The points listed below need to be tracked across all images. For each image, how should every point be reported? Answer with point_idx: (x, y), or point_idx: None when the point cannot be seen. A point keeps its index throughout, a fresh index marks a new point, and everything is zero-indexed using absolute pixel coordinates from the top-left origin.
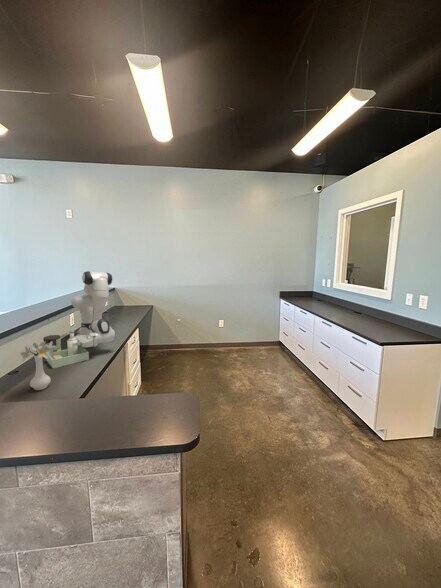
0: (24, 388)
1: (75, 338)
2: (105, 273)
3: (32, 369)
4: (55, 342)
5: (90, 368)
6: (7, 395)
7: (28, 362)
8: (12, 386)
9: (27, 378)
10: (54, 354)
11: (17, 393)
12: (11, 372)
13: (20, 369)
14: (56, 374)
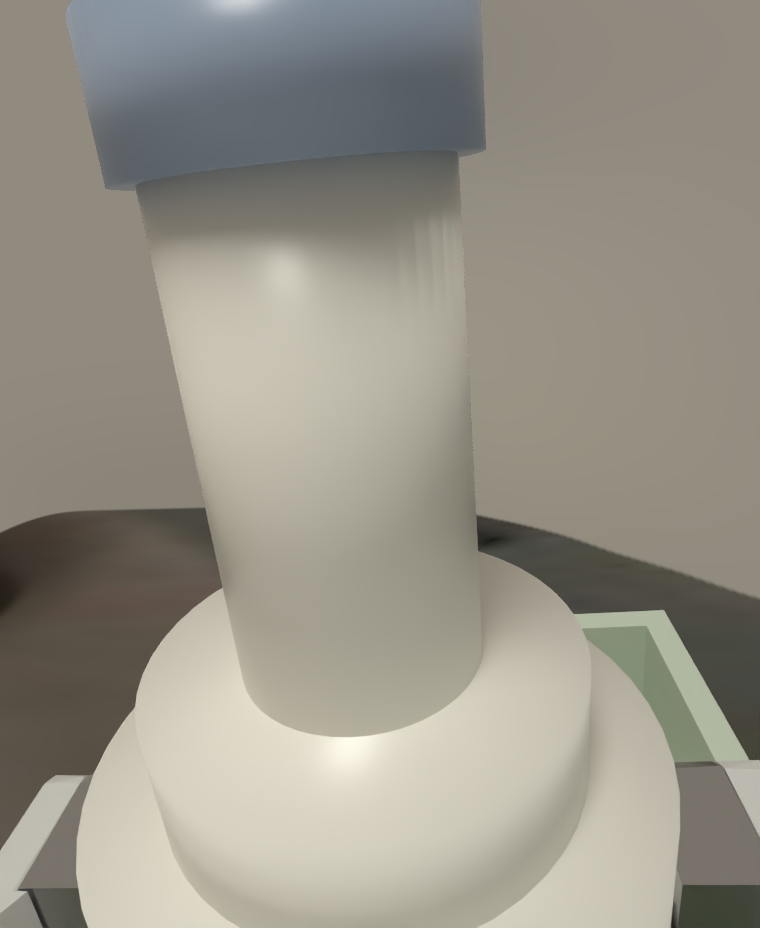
0: (56, 562)
1: (160, 780)
2: None
3: None
4: None
5: None
6: (71, 515)
7: (748, 599)
8: (181, 526)
9: None
10: (681, 747)
11: (31, 540)
12: (493, 519)
13: (529, 553)
14: (19, 761)
